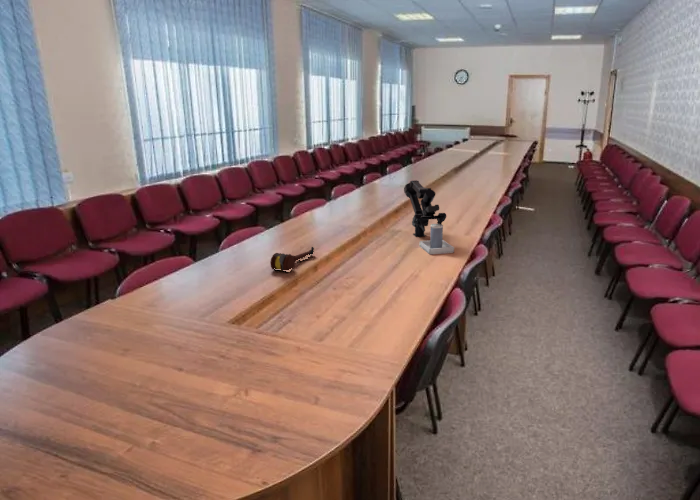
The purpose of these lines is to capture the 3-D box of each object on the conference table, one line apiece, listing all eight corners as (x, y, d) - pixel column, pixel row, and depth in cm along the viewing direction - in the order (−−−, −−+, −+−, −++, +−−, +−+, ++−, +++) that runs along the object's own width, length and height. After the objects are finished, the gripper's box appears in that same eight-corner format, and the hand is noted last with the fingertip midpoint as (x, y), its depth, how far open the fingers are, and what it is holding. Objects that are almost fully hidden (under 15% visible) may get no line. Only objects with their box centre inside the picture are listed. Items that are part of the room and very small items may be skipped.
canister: (431, 245, 271) (431, 223, 267) (443, 246, 269) (444, 224, 265) (428, 249, 265) (429, 226, 261) (441, 250, 263) (441, 226, 259)
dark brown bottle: (304, 258, 262) (320, 261, 257) (266, 273, 232) (283, 275, 227) (304, 240, 260) (320, 242, 255) (265, 252, 230) (283, 255, 225)
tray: (419, 246, 273) (419, 241, 272) (442, 244, 276) (442, 239, 275) (429, 254, 258) (429, 249, 257) (453, 252, 261) (454, 247, 260)
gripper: (414, 200, 270) (420, 224, 263) (446, 199, 273) (452, 222, 266) (410, 211, 279) (415, 234, 272) (440, 209, 283) (446, 232, 275)
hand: (432, 230), depth 271 cm, fingers open, 9 cm apart
